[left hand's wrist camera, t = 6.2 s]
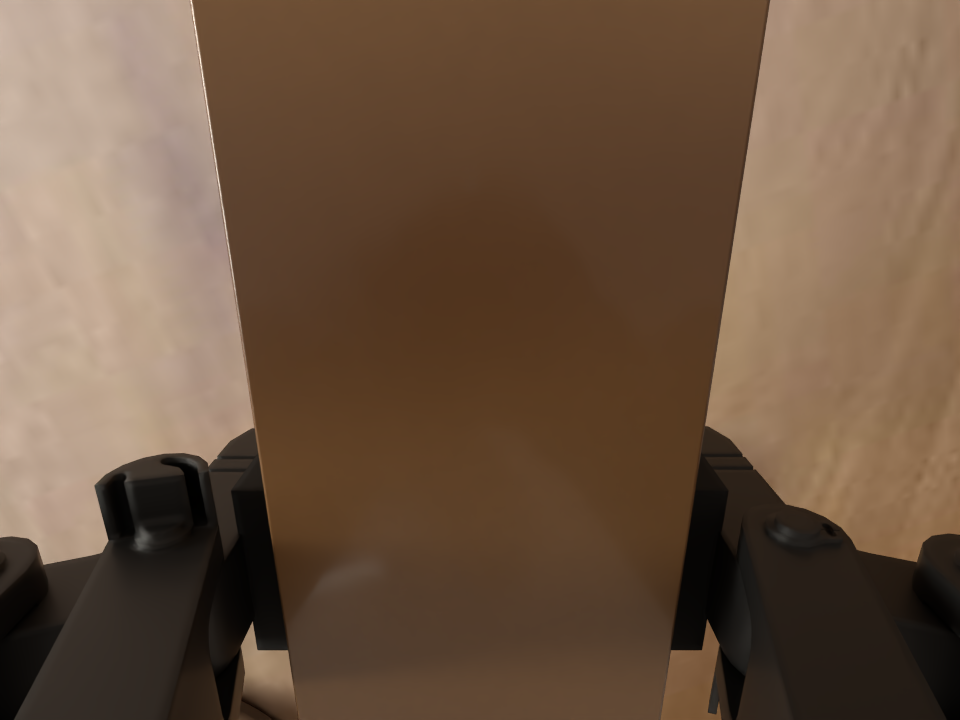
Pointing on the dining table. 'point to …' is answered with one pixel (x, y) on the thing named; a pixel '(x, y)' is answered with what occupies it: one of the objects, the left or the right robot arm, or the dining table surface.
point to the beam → (479, 332)
